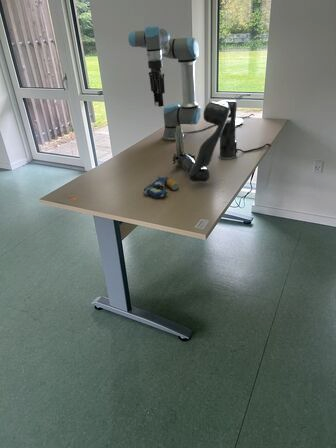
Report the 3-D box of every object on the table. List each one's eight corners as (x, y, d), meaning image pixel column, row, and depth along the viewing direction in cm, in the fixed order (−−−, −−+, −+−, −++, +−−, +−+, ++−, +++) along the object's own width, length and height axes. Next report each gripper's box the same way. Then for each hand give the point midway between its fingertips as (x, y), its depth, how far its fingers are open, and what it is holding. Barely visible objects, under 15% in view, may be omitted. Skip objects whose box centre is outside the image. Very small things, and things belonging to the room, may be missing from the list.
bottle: (183, 163, 202) (181, 125, 190) (185, 166, 199) (183, 126, 187) (176, 164, 202) (173, 126, 190) (178, 167, 198) (175, 127, 186)
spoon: (236, 135, 246) (236, 133, 245) (221, 135, 249) (221, 132, 248) (244, 120, 272) (244, 117, 271) (231, 120, 276) (231, 117, 274)
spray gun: (184, 183, 177) (159, 180, 184) (183, 176, 175) (158, 173, 182) (167, 201, 162) (140, 197, 168) (166, 193, 160) (139, 190, 166)
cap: (154, 105, 188) (153, 103, 187) (158, 104, 191) (158, 101, 190) (159, 106, 186) (159, 103, 185) (164, 104, 188) (163, 102, 188)
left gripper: (141, 59, 181) (146, 104, 193) (156, 61, 168) (160, 109, 181) (153, 58, 184) (157, 102, 196) (169, 59, 171) (172, 106, 183)
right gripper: (200, 155, 185) (189, 146, 199) (175, 159, 182) (166, 150, 196) (200, 168, 189) (190, 158, 203) (176, 172, 186) (167, 162, 200)
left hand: (159, 105), depth 188 cm, fingers closed on cap, 4 cm apart
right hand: (178, 154), depth 199 cm, fingers closed on bottle, 4 cm apart
